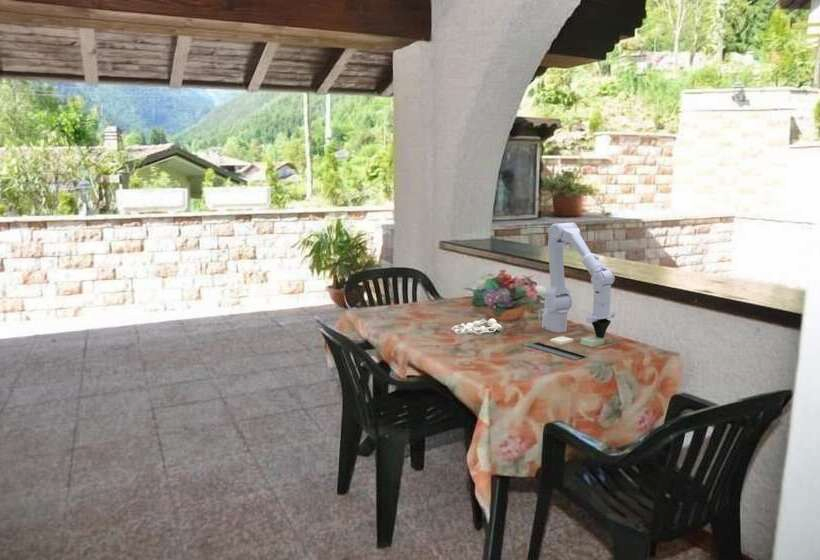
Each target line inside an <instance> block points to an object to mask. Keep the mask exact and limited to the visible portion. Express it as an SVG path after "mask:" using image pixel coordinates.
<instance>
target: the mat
mask: <svg viewBox="0 0 820 560" xmlns="http://www.w3.org/2000/svg"><path fill="white" fill-rule="evenodd" d="M526 346H527V347H529V348H532V349H535V350H539V351H543V352H545V353H547V354H548V353H549V354H553V355H556V356H559V357H561V358H565V359H568V358H569V360H572V359H573V361H575V360H576V361H579V360H582V358H583V359H586V358H588V356H587V355H583V354H579V353H575V352H573V351H570V350H566V349H562V348H558V347H555V346H551V345H547V344H545V343H540V342H533V343H529V344H526ZM585 357H586V358H585ZM578 359H579V360H578Z"/></svg>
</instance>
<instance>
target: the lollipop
mask: <svg viewBox="0 0 820 560" xmlns="http://www.w3.org/2000/svg"><path fill="white" fill-rule="evenodd" d="M535 287H536V290H537V292H538V294H539V295H540V296H541V297H542V298H543V299H546V292H547V291H548V290H547V288H546V287H545V286H542V285H537V286H535ZM540 318H541V308H540V309H539V308H538V320H540Z"/></svg>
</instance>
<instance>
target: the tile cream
mask: <svg viewBox="0 0 820 560" xmlns="http://www.w3.org/2000/svg"><path fill="white" fill-rule="evenodd" d="M573 340H574V339H572V338H568V337H564V336H561V337H557V336H556V337H553V338H550V339H549V343H550V342H551V343H554V344H557V345H561V346H562V345H564V344H570V343H572V342H574V341H573Z"/></svg>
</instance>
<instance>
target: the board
mask: <svg viewBox="0 0 820 560" xmlns="http://www.w3.org/2000/svg"><path fill="white" fill-rule="evenodd" d="M561 336H564V337H568V338H572V339H574V340H573V342H575V343H579V344H581V339H582V338H586V337H589V336H596V334H594V333H591V332H588V331H583V330H576V331H572V332H568V333H564V334H560V335H556V338H557V337H561ZM620 343H624V340H619V339H615V338H611V337H606V336H604V344H602V345H598V346H594V347H595V348H598V349H603V348H605V347H609V346H613V345H617V344H620ZM594 347H593V348H594Z"/></svg>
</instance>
